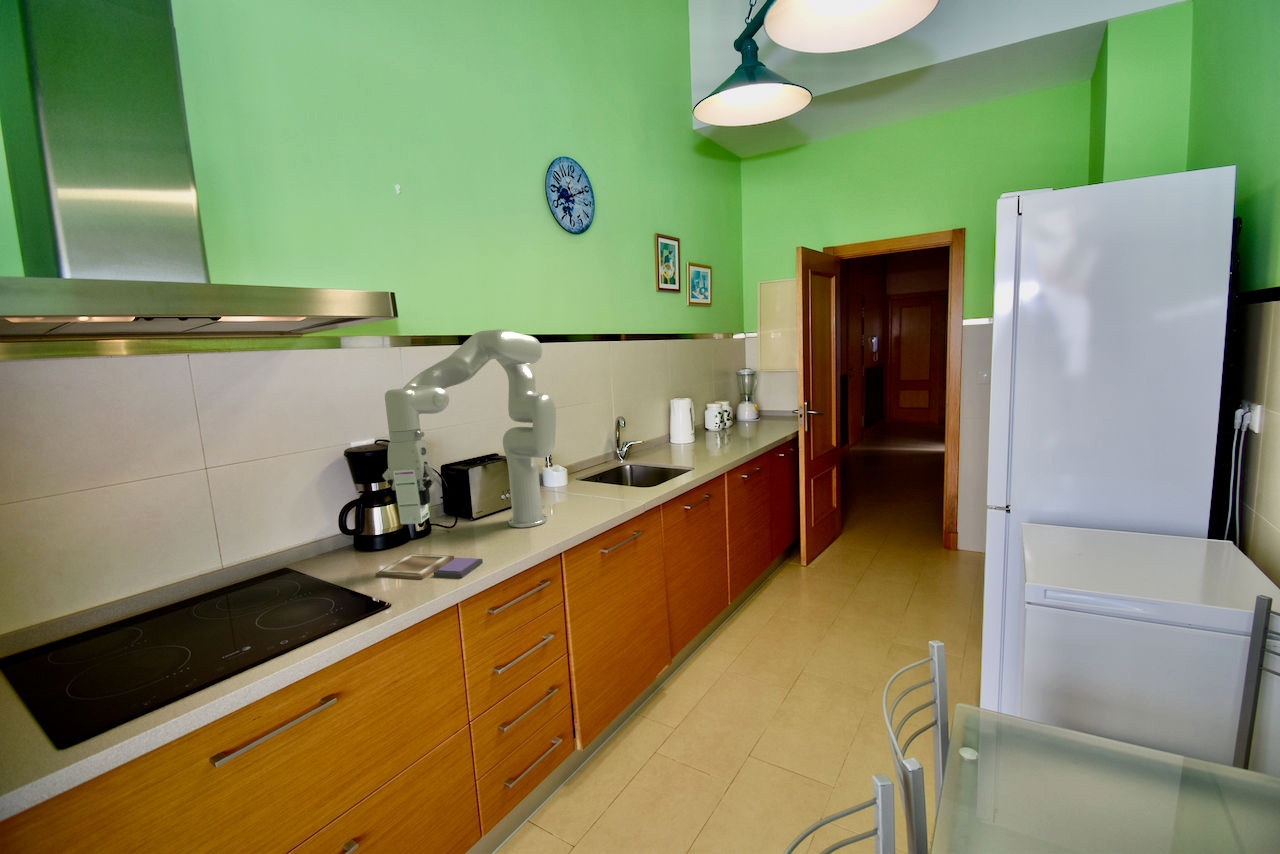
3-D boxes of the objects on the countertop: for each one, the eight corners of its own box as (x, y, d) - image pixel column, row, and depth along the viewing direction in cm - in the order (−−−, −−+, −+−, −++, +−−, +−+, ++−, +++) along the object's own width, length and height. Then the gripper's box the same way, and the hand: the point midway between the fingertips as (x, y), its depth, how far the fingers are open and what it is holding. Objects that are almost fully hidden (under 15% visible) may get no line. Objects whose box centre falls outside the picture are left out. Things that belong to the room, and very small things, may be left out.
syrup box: (422, 523, 144) (415, 468, 142) (399, 524, 144) (392, 470, 142) (430, 516, 150) (424, 463, 148) (408, 517, 150) (402, 465, 148)
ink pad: (433, 576, 142) (433, 571, 142) (456, 561, 152) (455, 556, 151) (461, 578, 140) (461, 572, 140) (482, 563, 149) (482, 557, 149)
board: (410, 556, 158) (410, 552, 158) (454, 558, 154) (453, 554, 154) (375, 576, 144) (375, 572, 144) (422, 579, 141) (421, 575, 140)
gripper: (443, 433, 145) (450, 500, 148) (386, 434, 150) (394, 499, 152) (426, 438, 138) (433, 508, 141) (366, 439, 142) (375, 507, 145)
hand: (413, 503), depth 146 cm, fingers closed on syrup box, 6 cm apart
